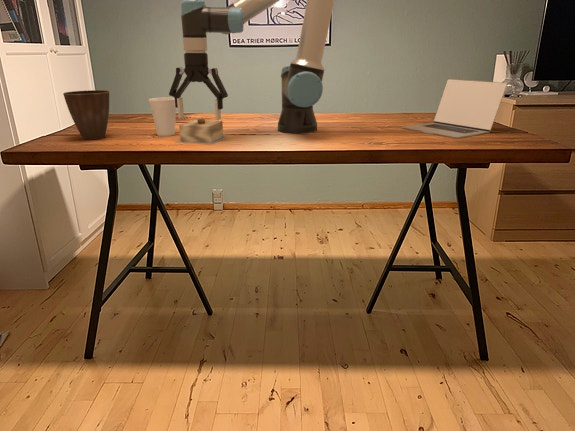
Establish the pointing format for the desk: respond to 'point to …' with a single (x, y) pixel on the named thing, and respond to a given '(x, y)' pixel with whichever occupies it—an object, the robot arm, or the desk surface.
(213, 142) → the mat
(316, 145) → the desk surface
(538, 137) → the desk surface
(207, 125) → the lid
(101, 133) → the plant pot
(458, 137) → the laptop
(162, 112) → the foam cup
